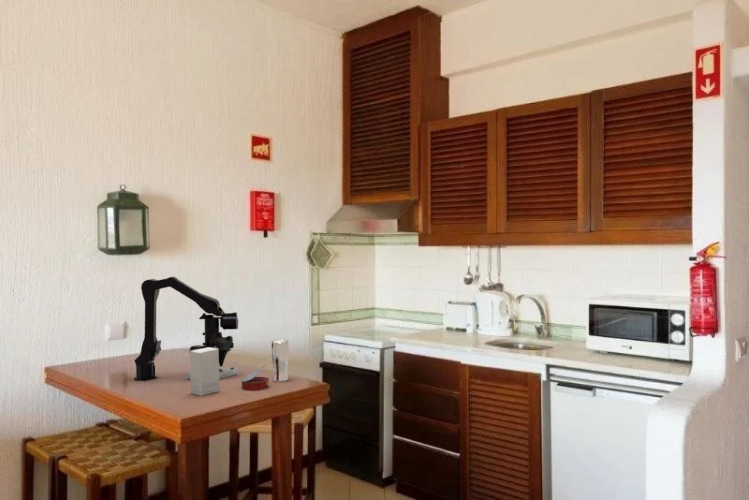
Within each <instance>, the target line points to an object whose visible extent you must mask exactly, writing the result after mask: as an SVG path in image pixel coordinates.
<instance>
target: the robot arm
mask: <svg viewBox="0 0 749 500" xmlns="http://www.w3.org/2000/svg"><path fill="white" fill-rule="evenodd" d="M166 288H172V289H173V290H175V291H176V292H178V293H180V294H181V295H183V296H185V297H186V298H188V299H189V300H191V301H192V302H194V303H195V304H196V305H198V307H199V308H200V309H201V310H203V311H204V312H203V313H202V315H201V316H200V317H199V318H198V319H199V320H204V332H202V336H204V342H202V345H199V344H197V345H191V346H190V348H189V352H190V351H192V350H197V349H202V348H207V347H210V348H216V349H219V366H220V367H222V366H223V367H224V362H225V360H226V356H227V354H228V353H229V352H230V351H232V349H234V347H235V345H234V342H233V341H234V340H233V339H234V337H233V336H232V335H227V336H223V333H222V332H221V331H220V328H221V329H223V330H224V331H225V330H239V318H238V312H237V311H236V312H235V311H234V312H225V311H224V309H222V308H221V303H220V301H219V300H218V299H217V298H215V297H211V296H210V295H209V296H208V295H206V294H202V292H199V291H198V290H196V289H195V288H194V287H191V286H190V285H188V284H186V283H185V282H183V281H181V280H180V279H178V278H177V277H176V276H170V277H167V278H163V279H162V278H161V279H156V278H151V279H145V280H144V281H143V282H142V283H141V285H140V289H141V294H142V298H143V301H144V337H143V338H144V339H143V340H142V345H141V349H140V354H139V355H138V356H137V357H136V358H135V359H134V364H135V377H133V380H138V381H147V380H152V379H157V378H158V376H157V375H156V365H155V359H156V358H157V357H158V356H159V355H160V353H161V351H162V348H161V344H162V340H160V339H159V340H158V338H157V300H158V297H159V295H160V290H161V289H166Z"/></svg>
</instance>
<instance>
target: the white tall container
mask: <svg viewBox="0 0 749 500" xmlns="http://www.w3.org/2000/svg"><path fill="white" fill-rule="evenodd" d="M270 343H271V344H270V356H271V364H272V368H273V370H272V371H273V375H272V381H273V382H277V383H278V382H279V383H280V382H286V381H289V374H288V366H289V365H288V364H289V361H290V346H289V340H282V339H280V340H272V341H271V342H270Z"/></svg>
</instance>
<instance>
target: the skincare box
mask: <svg viewBox="0 0 749 500" xmlns="http://www.w3.org/2000/svg"><path fill="white" fill-rule="evenodd" d="M189 354H190V355H189V357H190V358H189V360H190V366H189V367H190V369H189V370H190V372H191V379H190V394H191V395H196V396H199V397H202V396H206V395H210V394H214V393H217V392H218V393H219V392H220V379H219V366H220V365H219V349H218V348H217V349H216V348H211V347H207V348H202V349H197V350H192V351H190V350H189Z"/></svg>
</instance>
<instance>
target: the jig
mask: <svg viewBox="0 0 749 500" xmlns="http://www.w3.org/2000/svg"><path fill="white" fill-rule="evenodd" d="M238 374H239V370H238V367H231V366H230V367H229V366H224V365H223V366H222V367H220V365H219V380H221V379H224V378H228V377H232V376H235V375H238ZM186 379H188V380H191V371H187V372H186Z"/></svg>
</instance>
